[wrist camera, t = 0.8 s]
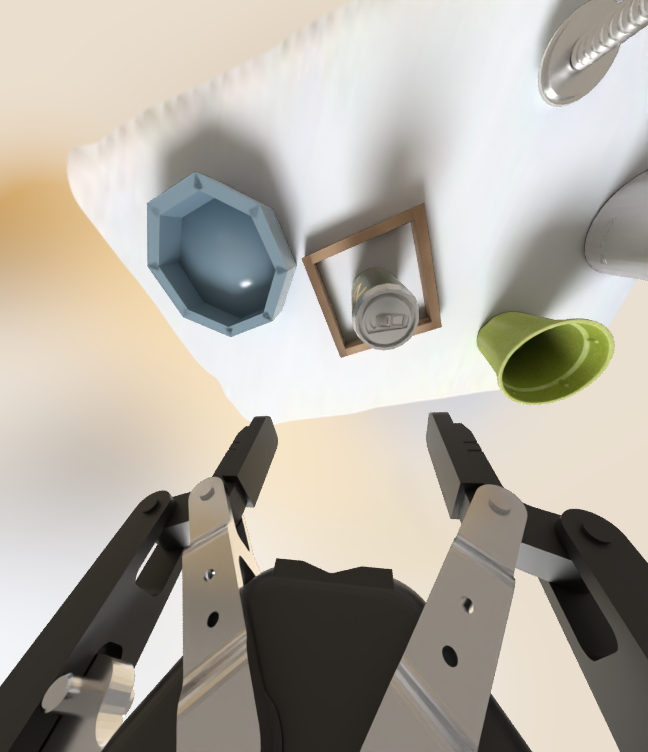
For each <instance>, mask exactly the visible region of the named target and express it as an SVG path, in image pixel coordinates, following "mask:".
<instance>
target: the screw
mask: <svg viewBox="0 0 648 752" xmlns="http://www.w3.org/2000/svg"><path fill="white" fill-rule="evenodd" d="M647 25H648V0H623V1H622V2H621V3H619V4H618V3H617V2H616V1H615V0H591V1H589V2H586V3H585V4H583V5H582V6H581V7H579V8H578V9H576V10H575V11H574V12H573V13H572V14H571V15H570V16H569V17H568V18H567V19H566V20H565V21H564V22H563V23H562V25H561V26H560V27H559V28H558V29H557V31H556V32H555V34H554V35H553V37H552V38H551V40H550V42H549V44H548V46H547V48H546V50H545V52H544V54H543V57H542V60H541V63H540V68H539V73H538V88H539V92H540V95H541V97H542V99H543V100H544V101H545V102H546V103H547V104H549V105H551V106H556V107H561V106H565V105H569V104H571V103H573V102H575V101H577V100H579V99H580V98H582V97H583V96H585V95H586V94H587V93H589V92H590V91H591V90H592V89H593V88H594V87H595V86H596V85H597V84H598V83H599V82H600V80H601V79H602V78H603V77H604V76H605V74H606V73H607V71H608V70H609V68H610V67H611V65H612V63H613V61H614V59H615V57H616V55H617V53H618V50H619V47H620V45H621V43H623V42H625V41H626V40H627V39H628V38H629V37H631V36H633V35H635V34H636V33H637V32H638V31H639V30H641V29H643V28H644V27H646V26H647Z"/></svg>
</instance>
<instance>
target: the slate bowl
mask: <svg viewBox="0 0 648 752" xmlns="http://www.w3.org/2000/svg"><path fill="white" fill-rule="evenodd" d="M147 260H148V268H149V269H150V270H151V272H152V273H153V275H154V276H155V278H156V279H157V280H158V282H159V283H160V285H161V286H162V288H163V289H164V290H165V292H166V293H167V295H168V296H169V298H170V299H171V300H172V302H173V303H174V305H175V306H176V308H177V309H178V310H179V312H180V313H181V315H182V316H183V317H184V318H187V319H189V320H192V321H194V322H196V323H199V324H201V325H203V326H206V327H208V328H211V329H213V330H215V331H218V332H220V333H222V334H225V335H227V336H230V337H232V336H235V335H237V334H240V333H242V332H245V331H248V330H250V329H253V328H255V327H258V326H261V325H263V324H266V323H269V322H271V321H273V320H274V319H275V317H276V316H277V315H278V314H279V313H280V312H281V311H282V308H283V305H284V302H285V299H286V296H287V293H288V290H289V287H290V284H291V281H292V278H293V275H294V272H295V269H296V266H297V265H296V263H295V261H294V258H293V256H292V253H291V251H290V248H289V246H288V243H287V241H286V239H285V236H284V234H283V231H282V229H281V226H280V224H279V222H278V219H277V217H276V214H275V212H274V209H273V208H271V207H269V206H267V205H265V204H263V203H261V202H259V201H257V200H255V199H253V198H251V197H249V196H247V195H245V194H243V193H241V192H239V191H237V190H235V189H233V188H231V187H229V186H227V185H225V184H224V183H222V182H220V181H217V180H215V179H213V178H210V177H208V176H205V175H203V174H201V173H198V172H196V171H195V172H194V173H192V174H191V175H189V176H188V177H186V178H185V179H183V180H182V181H180V182H179V183H177V184H176V185H174V186H173V187H171V188H169V189H168V190H166V191H165V192H163V193H162V194H160V195H159V196H157V197H156V198H154V199H153V200H151V201H150V202H148V203H147Z"/></svg>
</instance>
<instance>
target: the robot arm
mask: <svg viewBox="0 0 648 752" xmlns="http://www.w3.org/2000/svg"><path fill="white" fill-rule="evenodd" d="M585 255H586V259H587V262H588V263H589V265H590V266H591V267H592V268H593V269H595V270H596V271H598V272H601V273H604V274H609V275H616V276H622V277H629V278H636V279H642V280H648V170H647V171H645V172H644V173H642V174H640V175H638V176H636V177H635V178H634V179H632V180H631V181H630V182H628V183H627V184H625V185H624V186H623V187H622V188H621V189H620V190H619V191H617V192H616V193H615V194H614V195H613V196H612V197H611V198H610V199H609V200H608V202H607V203H606V204H605V205H604V206H603V207H602V209H601V210H600V212H599V213H598V215H597V216H596V218H595V219H594V221H593V223H592V225H591V227H590V229H589V231H588V234H587V238H586V242H585ZM426 441H427V447H428V451H429V454H430V457H431V460H432V463H433V466H434V469H435V472H436V475H437V478H438V482H439V485H440V488H441V491H442V494H443V497H444V500H445V503H446V506H447V509H448V512H449V515H450V518H451V519H460V521H461V527H460V529H459V532H458V534H457V536H456V538H455V539H454V541H453V543H452V545H451V547H450V550H449V552H448V554H447V556H446V558H445V561H444V563H443V565H442V568H441V570H440V572H439V575H438V577H437V579H436V582H435V584H434V586H433V588H432V590H431V593H430V595H429V598H428V600H427V602H425V601H424V600H423V599H422V598H421V597H420V596H419V595H418V594H417V593H416V592H415V591H413V590H412V589H411V588H410V587H408V586H407V585H405V584H403V583H402V582H400V581H398V580H396V579H394V578H393V575H392V574H393V573H392V569H382V568H372V567H357V568H353V569H349V570H344V571H340V572H336V573H328V572H326V571H324V570H322V569H319V568H317V567H315V566H313V565H311V564H308V563H306V562H304V561H299V560H298V561H297V560H288V559H278V558H277V559H276V562H275V566H274V568H271V569H269V570H266V571H264V572H262V573H260V570H259V567H258V565H257V562H256V560H255V557H254V554H253V551H252V547H251V543H250V539H249V535H248V531H247V527H246V523H245V520H244V516H243V512H244V510H245V507H255V504H256V501H257V499H258V496H259V494H260V491H261V489H262V486H263V483H264V481H265V478H266V475H267V473H268V470H269V467H270V465H271V462H272V459H273V457H274V454H275V451H276V449H277V445H278V438H277V434H276V431H275V428H274V425H273V423H272V420H271V418H270V417H269V416H257V417H254V418H253V420H252V422H251V424H250V426H246V427H245V428H243V430H241V431H240V432H239V433H238V435H237V436H236V438H235V440H234V441H233V443H232V444H231V446H230V448H229V450H228V451H227V453H226V454H225V456H224V458H223V459H222V461H221V463H220V464H219V466H218V468H217V469H216V471H215V473H214V475H213V476H212V477H210V478H207V479H205V480H203V481H201V482H200V483H199V484H198V485H196V487H195V488H194V489H193V490H192V492H189V493H185V494H181V495H178V496H175V497H172V496H171V495H170V494H169V492H167V491H158V492H155V493H153V494H151V495H149V496H148V497H146V498H145V499H144V500H142V501H141V502H140V503H139V504H138V506H137V507H136V508H135V510H134V511H133V512H132V513H131V515H130V516H129V517H128V519H127V520H126V521H125V523H124V524H123V525H122V527H121V528H120V529H119V531H118V532H117V533H116V535H115V536H114V537H113V538H112V540H111V541H110V542H109V544H108V545H107V546H106V548H105V549H104V550H103V552H102V553H101V554H100V556H99V557H98V558H97V560H96V561H95V562H94V564H93V565H92V566H91V568H90V569H89V570H88V571H87V573H86V574H85V575H84V577H83V578H82V579H81V581H80V582H79V583H78V585H77V586H76V587H75V589H74V590H73V591H72V593H71V594H70V595H69V596H68V598H67V599H66V601H65V602H64V603H63V604H62V606H61V607H60V608H59V610H58V611H57V612H56V614H55V615H54V616H53V618H52V619H51V620H50V622H49V623H48V624H47V626H46V627H45V628H44V629H43V631H42V632H41V633H40V635H39V636H38V637H37V639H36V640H35V642H34V643H33V644H32V645H31V647H30V648H29V649H28V651H27V652H26V653H25V655H24V656H23V657H22V659H21V660H20V661H19V663H18V664H17V665H16V667H15V668H14V669H13V670H12V672H11V673H10V674H9V676H8V677H7V678H6V680H5V681H4V682H3V684H2V685H1V686H0V752H532V751H531V750H530V748H529V747H528V745H527V744H526V742H525V741H524V740H523V738H522V737H521V735H520V734H519V733H518V731H517V730H516V728H515V727H514V725H513V724H512V723H511V721H510V720H509V718H508V717H507V716H506V714H505V713H504V711H503V710H502V708H501V707H500V706H499V704H498V703H497V701H496V700H495V698H494V697H493V696H492V694H491V689H492V684H493V680H494V676H495V671H496V667H497V663H498V658H499V654H500V650H501V645H502V641H503V636H504V632H505V627H506V624H507V619H508V615H509V611H510V606H511V602H512V598H513V593H514V588H515V578H514V570H515V568H517V569H519V570H522V571H524V572H527V573H529V574H532V575H534V576H537V577H538V578H539V580H540V583H541V584H542V587H543V589H544V591H545V593H546V595H547V597H548V600H549V602H550V604H551V606H552V608H553V610H554V612H555V614H556V617H557V619H558V621H559V623H560V625H561V627H562V629H563V631H564V634H565V636H566V638H567V640H568V642H569V644H570V646H571V648H572V651H573V653H574V655H575V657H576V659H577V661H578V663H579V665H580V668H581V670H582V672H583V674H584V676H585V678H586V680H587V682H588V685H589V687H590V689H591V691H592V693H593V695H594V697H595V699H596V701H597V704H598V706H599V708H600V710H601V712H602V714H603V716H604V718H605V721H606V722H607V725H608V727H609V729H610V731H611V733H612V735H613V738H614V740H615V742H616V744H617V746H618V748H619V750H620V752H648V563H647V562H646V560H645V559H644V558H643V557H642V556H641V554H640V553H639V552H638V551H637V550H636V548H635V547H634V546H633V545H632V543H630V541H629V540H628V539H627V537H626V536H625V535H624V534H623V533H622V532H621V531H620V530H619V529H618V528H617V527H615V526H614V525H613V524H612V523H610V522H609V521H607V520H606V519H604V518H602V517H600V516H598V515H596V514H594V513H591V512H588V511H585V510H580V509H569V510H566V511H565V512H564V513H563V514H562V515H558V514H555V513H551V512H548V511H544V510H541V509H538V508H535V507H532V506H529V505H527V504H525V503H523V502H521V500H520V499H519V498H518V497H517V496H516V495H515V494H513V493H512V492H510V491H509V490H507V489H505V488H504V487H503V486H502V484H501V483H500V481H499V479H498V477H497V476H496V474H495V472H494V471H493V469H492V467H491V465H490V463H489V462H488V460H487V458H486V456H485V455H484V453H483V452H482V450H481V448H480V446H479V444H478V443H477V441H476V439H475V437H474V435H473V434H472V432H471V431H470V430H469V429H468V428H466V427H465V426H464V425H463V424H462V423H453V421H452V419H451V417H450V415H449V413H448V412H437V413H436V412H434V413H430V414H429V417H428V426H427V434H426ZM154 543H157V544H158V545H157V546H156V548H155V550H154V552H153V553H152V555H151V557H150V558H149V560H148V561H147V563H146V565H145V566H144V568H143V570H142V571H141V573H140V575H139V577H138V578H137V580H136V575H137V572H138V570H139V568H140V567H141V565H142V563H143V562H144V560H145V558H146V557H147V555H148V553H149V552H150V550H151V548H152V547H153V545H154ZM181 570H182V574H183V656H182V657H181V658H180V659H179V661H178V662H177V663H176V664H175V665H174V666H173V667H172V668H171V670H170V671H169V672H168V673H167V674H166V675H165V676H164V677H163V679H162V680H161V681H160V682H159V683H158V684H157V685H156V687H155V688H154V689H153V690H152V691H151V692H150V693H149V694H148V695H147V697H146V698H145V699H144V700H143V701H142V702H141V704H140V705H139V706H138V707H137V708H136V709H135V710H134V711H133V712H132V713H131V715H130V716H129V717H128V718H127V719H126V720H125V721H124V723H123V724H122V722H123V717H124V716H125V715H126V713H127V712H128V711H129V709H130V707H131V705H132V702H133V699H134V690H133V686H134V680H135V673H134V668H135V666H136V664H137V662H138V660H139V658H140V655H141V654H142V651H143V649H144V647H145V645H146V643H147V641H148V639H149V636H150V634H151V633H152V631H153V628H154V626H155V624H156V622H157V620H158V618H159V616H160V614H161V612H162V610H163V607H164V606H165V603H166V601H167V599H168V597H169V595H170V593H171V591H172V589H173V587H174V585H175V583H176V580H177V578H178V576H179V574H180V572H181ZM135 580H136V582H135Z"/></svg>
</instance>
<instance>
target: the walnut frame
mask: <svg viewBox="0 0 648 752" xmlns="http://www.w3.org/2000/svg"><path fill="white" fill-rule="evenodd" d="M408 222H411V226H412V232H413V238H414V243H415V249H416V255H417V261H418V267H419V273H420V278H421V284H422V290H423V296H424V302H425V308H426V313H427V317H426V318H423V319H419V323H418V326H417V329H416V331H415V332H414V334H413V335H412V336H414V335H417V334H420V333H423V332H427V331H430V330H433V329H437V328H440V327H442V325H441V318H440V311H439V304H438V297H437V290H436V283H435V276H434V269H433V262H432V255H431V248H430V241H429V234H428V227H427V220H426V213H425V206H424V203H423V204H421V205H418V206H416V207H414V208H412V209H410V210H407V211H405V212H403V213H401V214H398V215H396V216H394V217H392V218H390V219H387V220H385V221H383V222H381V223H379V224H376V225H374V226H372V227H370V228H368V229H365V230H363V231H361V232H359V233H356V234H354V235H352V236H350V237H348V238H345V239H343V240H341V241H339V242H337V243H334V244H332V245H330V246H328V247H326V248H323V249H321V250H319V251H317V252H314V253H312V254H310V255H308V256H306V257H303V258H302V261H303V263H304V266H305V268H306V271H307V274H308V276H309V279H310V281H311V284H312V286H313V289H314V291H315V294H316V296H317V299H318V301H319V304H320V307H321V309H322V312H323V314H324V317H325V319H326V322H327V324H328V327H329V329H330V332H331V334H332V337H333V340H334V342H335V345H336V347H337V350H338V352H339V355H340V357H345V356H348V355H351V354H354V353H358V352H361V351H364V350H368V349H371V348H372V347H369V346H367V345H366V344H365V343H364V342H363V341H362V340H361V339H357V340H354V341H351V342H348V343H345V341H344V338H343V335H342V332H341V330H340V327H339V324H338V322H337V319H336V316H335V313H334V311H333V308H332V305H331V303H330V300H329V297H328V295H327V292H326V289H325V286H324V284H323V281H322V278H321V276H320V273H319V270H318V268H317V265H316V263H317V262H319V261H322V260H324V259H326V258H328V257H331V256H333V255H335V254H338V253H340V252H342V251H344V250H347V249H349V248H351V247H354V246H356V245H358V244H360V243H363V242H365V241H367V240H370V239H372V238H374V237H376V236H379V235H381V234H383V233H386V232H388V231H390V230H392V229H395V228H397V227H399V226H402V225H404V224H406V223H408Z"/></svg>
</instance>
